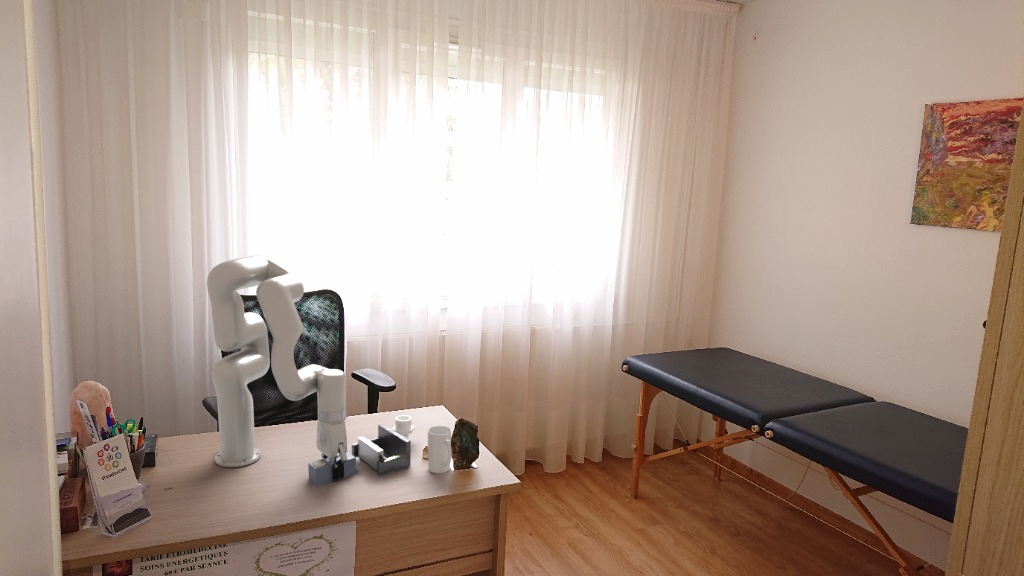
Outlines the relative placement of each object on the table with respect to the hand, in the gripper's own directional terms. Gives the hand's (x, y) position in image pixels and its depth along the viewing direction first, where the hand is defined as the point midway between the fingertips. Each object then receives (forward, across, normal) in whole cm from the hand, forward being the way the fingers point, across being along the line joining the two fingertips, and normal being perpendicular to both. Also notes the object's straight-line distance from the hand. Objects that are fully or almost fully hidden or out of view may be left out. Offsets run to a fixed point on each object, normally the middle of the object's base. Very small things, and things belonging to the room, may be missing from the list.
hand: (333, 474), depth 185 cm
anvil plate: (0, +1, +12) cm, 12 cm away
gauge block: (+1, 0, 0) cm, 1 cm away
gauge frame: (+1, 0, +15) cm, 15 cm away
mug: (+1, +16, +26) cm, 31 cm away
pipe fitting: (+1, -8, +28) cm, 29 cm away
